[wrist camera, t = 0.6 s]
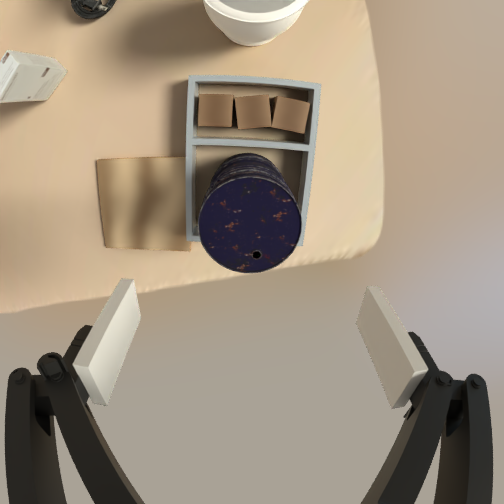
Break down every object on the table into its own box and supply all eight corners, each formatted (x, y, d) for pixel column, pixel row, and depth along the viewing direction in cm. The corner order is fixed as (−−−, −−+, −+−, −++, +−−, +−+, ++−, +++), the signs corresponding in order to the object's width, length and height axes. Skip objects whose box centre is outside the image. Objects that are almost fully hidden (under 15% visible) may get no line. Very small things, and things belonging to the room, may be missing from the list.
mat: (107, 246, 44) (106, 247, 43) (98, 159, 38) (96, 160, 37) (190, 249, 45) (190, 251, 44) (190, 157, 38) (189, 157, 38)
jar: (295, 50, 32) (325, 20, 19) (217, 58, 32) (202, 30, 19) (283, -14, 27) (304, -66, 14) (207, -6, 28) (190, -57, 14)
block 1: (202, 124, 37) (197, 126, 33) (203, 95, 35) (199, 94, 31) (232, 125, 37) (231, 126, 33) (234, 96, 35) (233, 94, 31)
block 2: (238, 127, 37) (238, 129, 33) (235, 99, 35) (234, 97, 32) (268, 124, 37) (271, 126, 33) (266, 96, 35) (268, 94, 32)
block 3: (268, 125, 37) (271, 127, 33) (274, 97, 35) (277, 95, 32) (297, 131, 37) (303, 133, 34) (303, 103, 36) (310, 103, 32)
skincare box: (47, 101, 33) (-4, 107, 22) (33, 86, 31) (-17, 90, 20) (70, 69, 31) (20, 65, 20) (55, 55, 29) (5, 49, 18)
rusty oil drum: (203, 161, 39) (183, 189, 25) (275, 145, 38) (293, 164, 25) (222, 227, 43) (213, 283, 30) (288, 212, 43) (309, 263, 29)
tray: (190, 231, 43) (186, 241, 40) (193, 78, 33) (188, 75, 30) (298, 236, 44) (302, 246, 41) (314, 86, 34) (321, 84, 31)
